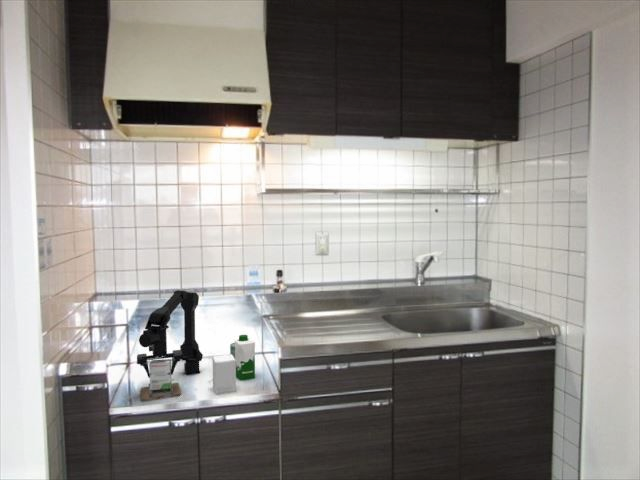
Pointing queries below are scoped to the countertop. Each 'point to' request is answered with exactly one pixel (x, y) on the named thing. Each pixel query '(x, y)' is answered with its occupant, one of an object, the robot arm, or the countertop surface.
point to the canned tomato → (232, 349)
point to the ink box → (160, 374)
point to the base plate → (159, 392)
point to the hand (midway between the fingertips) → (160, 376)
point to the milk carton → (245, 358)
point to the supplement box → (224, 374)
